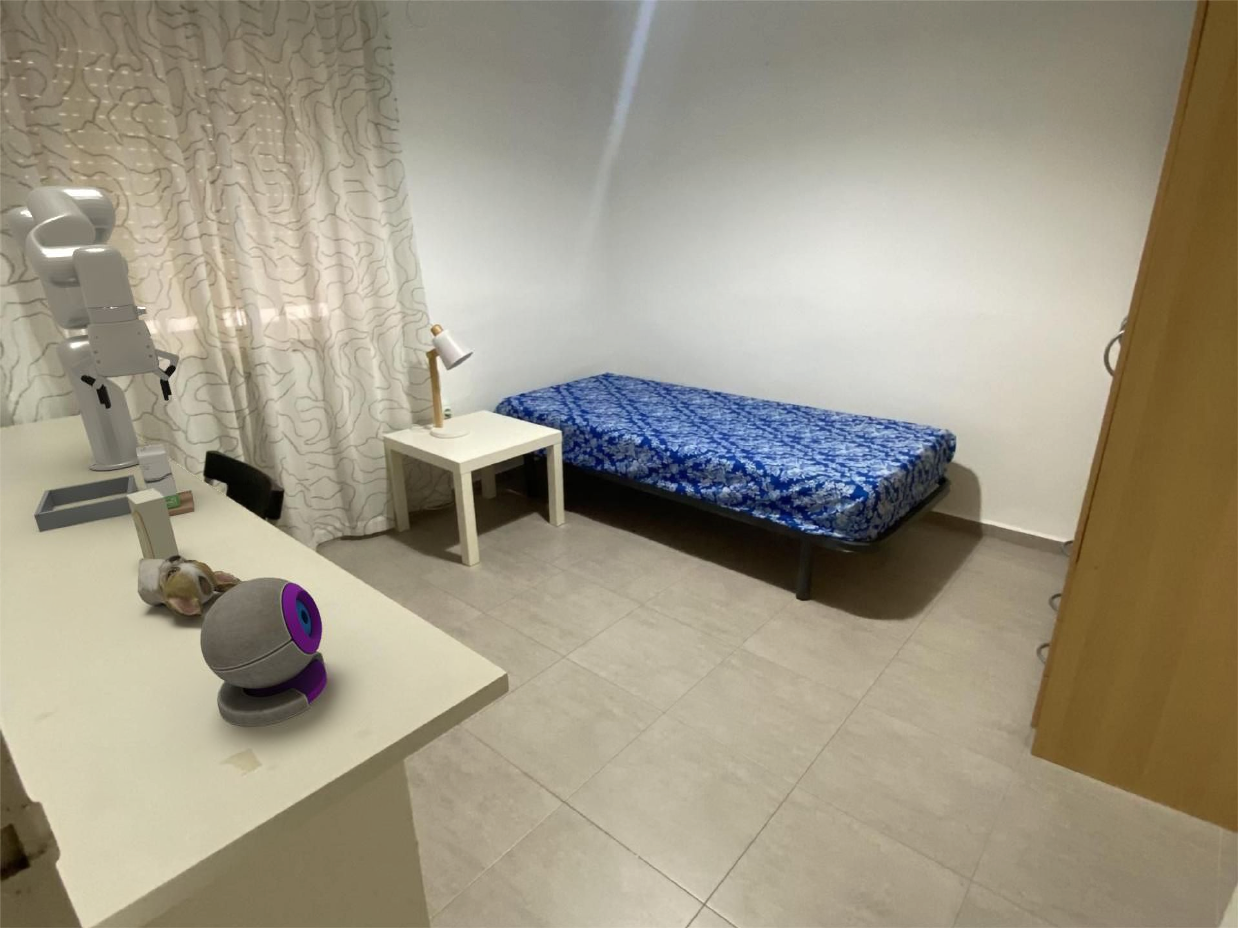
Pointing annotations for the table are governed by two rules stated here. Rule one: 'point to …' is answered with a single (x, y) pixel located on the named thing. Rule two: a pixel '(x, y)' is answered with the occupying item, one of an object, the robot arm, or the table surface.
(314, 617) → the webcam
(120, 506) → the bin
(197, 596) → the ceramic sculpture
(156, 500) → the skincare box
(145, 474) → the ink box
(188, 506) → the pad
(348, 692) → the table surface
